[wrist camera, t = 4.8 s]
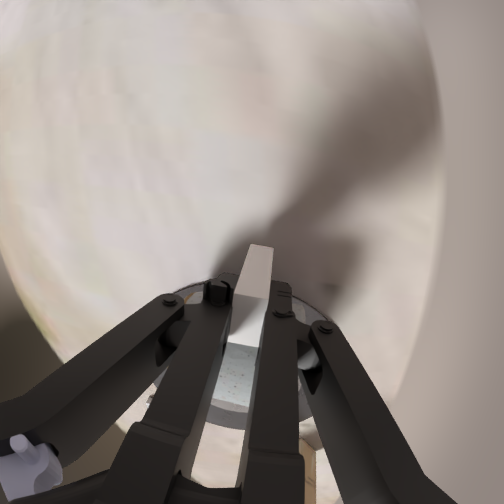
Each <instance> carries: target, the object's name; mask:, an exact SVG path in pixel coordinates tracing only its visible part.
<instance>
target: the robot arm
mask: <svg viewBox="0 0 504 504" xmlns="http://www.w3.org/2000/svg"><path fill="white" fill-rule="evenodd" d="M273 250H274V248H272V247H266V246H260V245H255V244H250V247H249V250H248V253H247V256H246V259H245V262H244V265H243V268H242V271H241V274H240V275H235V274H229V273H223V274H221V275H219V276H218V278H217V279H209V280H206V281H205V282H204V287H203V299H202V301H201V303H198V304H184V299H183V298H182V297H181V296H179V295H176V294H172V293H171V294H170V293H167V294H162V295H160V296H158V297H156V298H155V299H153V300H152V301H151V302H149V303H148V304H146V305H145V306H144V307H142V308H141V309H139V310H138V311H136V312H135V313H134V314H132V315H131V316H130V317H128V318H127V319H125V320H124V321H123V322H121V323H120V324H118V325H117V326H116V327H114V328H113V329H111V330H110V331H109V332H107V333H106V334H105V335H103V336H102V337H100V338H99V339H98V340H96V341H95V342H94V343H92V344H91V345H90V346H88V347H87V348H85V349H84V350H83V351H81V352H80V353H79V354H77V355H76V356H75V357H73V358H72V359H71V360H69V361H68V362H67V363H65V364H64V365H63V366H61V367H60V368H59V369H57V370H56V371H55V372H53V373H52V374H51V375H49V376H48V377H47V378H45V379H44V380H43V381H42V382H40V383H39V384H37V385H36V386H35V387H33V388H32V389H31V390H29V391H28V392H27V393H26V394H25V395H23V396H20V397H17V398H14V399H11V400H8V401H5V402H2V403H0V482H1V484H2V487H3V490H4V492H5V494H6V496H7V499H8V500H9V502H8V503H7V504H305V459H304V457H303V455H301V454H300V453H299V392H298V376H299V379H300V382H301V385H302V388H303V390H304V393H305V396H306V399H307V402H308V404H309V407H310V410H311V413H312V416H313V418H314V421H315V424H316V427H317V430H318V432H319V435H320V438H321V441H322V444H323V446H324V449H325V452H326V455H327V458H328V460H329V463H330V466H331V469H332V472H333V475H334V477H335V480H336V483H337V486H338V489H339V491H340V494H341V497H342V500H343V503H344V504H457V503H456V502H455V501H454V500H453V499H452V498H450V497H449V496H448V495H447V494H446V493H444V492H443V491H442V490H441V489H440V488H439V487H438V486H437V485H435V484H434V483H433V482H432V481H431V480H430V479H429V478H428V477H427V476H425V474H424V473H423V471H422V469H421V467H420V465H419V463H418V462H417V460H416V458H415V456H414V454H413V452H412V450H411V449H410V447H409V445H408V443H407V441H406V440H405V438H404V436H403V434H402V432H401V431H400V429H399V427H398V425H397V424H396V422H395V420H394V418H393V417H392V415H391V413H390V411H389V410H388V408H387V406H386V404H385V403H384V401H383V399H382V398H381V396H380V394H379V393H378V391H377V389H376V387H375V386H374V384H373V382H372V381H371V379H370V377H369V376H368V374H367V372H366V371H365V369H364V367H363V366H362V364H361V363H360V361H359V359H358V358H357V356H356V354H355V353H354V351H353V350H352V348H351V346H350V345H349V343H348V341H347V340H346V338H345V337H344V335H343V333H342V332H341V330H340V329H339V327H338V326H337V325H335V324H334V323H332V322H330V321H327V320H316V321H314V322H313V323H312V325H311V326H310V325H307V324H304V323H302V322H300V321H299V320H297V319H296V315H295V313H294V312H293V311H292V294H291V293H292V292H291V287H290V286H289V284H288V283H284V282H278V281H273V280H271V272H272V261H273ZM227 339H228V342H231V343H236V344H242V345H247V346H253V347H258V352H257V356H256V361H255V365H254V366H255V371H254V377H253V384H252V390H251V397H250V403H249V410H248V416H247V422H246V428H245V435H244V441H243V447H242V453H241V458H240V464H239V470H238V476H237V481H236V485H235V488H207V487H204V486H202V485H200V484H198V483H195V482H193V481H191V480H190V479H191V472H192V467H193V464H194V460H195V456H196V453H197V449H198V446H199V442H200V439H201V435H202V432H203V428H204V425H205V421H206V418H207V414H208V411H209V407H210V404H211V400H212V397H213V393H214V390H215V386H216V383H217V379H218V376H219V372H220V369H221V365H222V361H223V358H224V354H225V351H226V346H227ZM167 367H168V368H167ZM166 368H167V370H166V372H165V374H164V376H163V378H162V380H161V382H160V384H159V386H158V388H157V390H156V392H155V395H154V397H153V399H152V401H151V403H150V405H149V407H148V409H147V411H146V413H145V415H144V417H143V419H142V420H141V421H140V422H135V423H133V424H132V425H131V427H130V429H129V430H128V432H127V434H126V436H125V439H124V440H123V443H122V445H121V447H120V449H119V451H118V453H117V455H116V457H115V459H114V461H113V463H112V465H111V467H110V469H108V470H105V471H102V472H99V473H97V474H94V475H92V476H90V477H87V478H84V479H81V480H79V481H76V482H73V483H70V484H68V485H64V486H61V487H58V488H55V489H52V490H51V488H52V487H53V486H54V485H59V484H61V482H62V479H63V478H62V468H64V467H66V466H68V465H70V464H71V463H73V462H74V461H76V460H77V459H78V458H79V457H81V456H82V455H83V454H84V453H85V452H86V451H87V450H88V449H89V448H90V447H91V446H92V445H93V444H94V443H95V442H96V441H97V440H98V439H99V438H100V437H101V436H102V435H103V434H104V433H105V432H106V431H107V430H108V429H109V428H110V426H111V425H113V424H114V423H115V422H116V420H117V419H118V418H119V417H120V416H121V415H122V414H123V413H124V412H125V411H126V410H127V409H128V408H129V407H130V406H131V405H132V404H133V403H134V402H135V401H136V400H137V399H138V398H139V397H140V396H141V394H142V393H143V392H144V391H145V390H146V389H147V388H148V387H149V386H150V385H151V384H152V383H153V382H154V381H155V380H156V379H157V378H158V377H159V376H160V374H161V373H162V372H163V371H164V370H165V369H166Z"/></svg>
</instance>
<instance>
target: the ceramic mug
mask: <svg viewBox="0 0 504 504" xmlns="http://www.w3.org/2000/svg"><path fill="white" fill-rule="evenodd" d="M202 299H203V292H194V293H191V294H190V295H188V296H187V297H186V298H184V304H198V303H201V301H202ZM292 311H293V312H294V313H295V315H296V319H297V320H299V321H300V322H302V323H304V324H306V323H305V317H306V316H305V309H304V307H303V306H302V305H299V304H292ZM257 352H258V347H253V346H247V345H242V344H236V343H231V342H228V339H227V346H226V351H225V354H224V358H223V361H222V365H221V369H220V372H219V376H218V379H217V383H216V386H215V390H214V393H213V397H212V398H215V399H219V400H223V401H227V402H231V403H235V404H239V405H243V406H247V407H249V403H250V397H251V390H252V384H253V377H254V371H255V366H254V365H255V361H256V356H257ZM167 368H168V367H167ZM298 377H299V376H298Z"/></svg>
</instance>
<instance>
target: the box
mask: <svg viewBox="0 0 504 504" xmlns="http://www.w3.org/2000/svg"><path fill="white" fill-rule="evenodd" d="M299 453H300V454H301V455H303V457H304V459H305V504H316V452H315V451H314V450H313V449H312V448H311V447H310V446H309V445H308V444H307V443H306V442H305V441H304V440H303V439H299Z"/></svg>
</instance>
